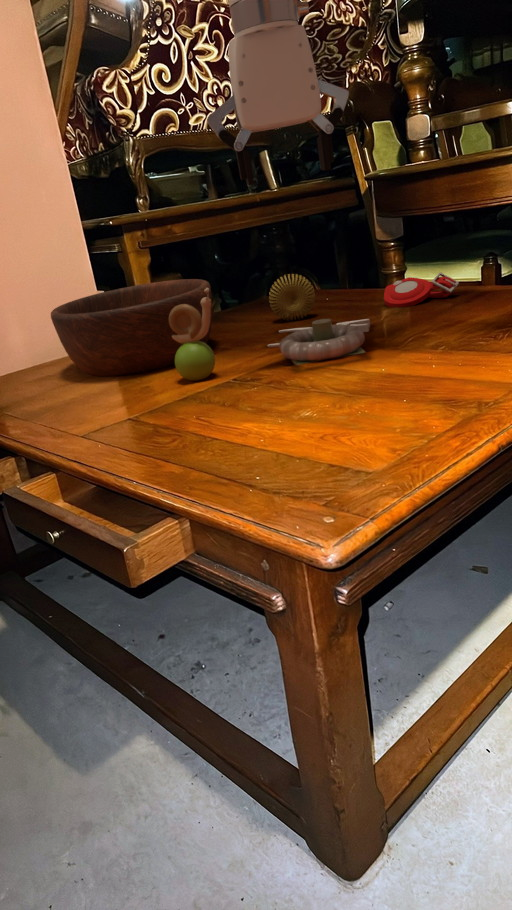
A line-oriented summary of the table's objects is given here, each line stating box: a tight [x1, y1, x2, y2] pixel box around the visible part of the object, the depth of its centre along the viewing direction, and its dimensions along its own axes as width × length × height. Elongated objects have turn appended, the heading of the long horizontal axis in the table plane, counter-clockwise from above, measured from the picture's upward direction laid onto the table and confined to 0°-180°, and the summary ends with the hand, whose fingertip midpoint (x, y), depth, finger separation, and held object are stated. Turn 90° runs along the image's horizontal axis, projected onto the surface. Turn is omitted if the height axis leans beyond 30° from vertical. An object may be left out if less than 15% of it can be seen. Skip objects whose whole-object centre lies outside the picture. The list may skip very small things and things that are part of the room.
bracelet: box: [278, 324, 366, 362], centre depth 93 cm, size 11×11×2 cm
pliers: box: [267, 318, 371, 348], centre depth 106 cm, size 10×2×15 cm
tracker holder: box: [383, 271, 460, 308], centre depth 119 cm, size 12×4×10 cm
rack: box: [291, 318, 366, 366], centre depth 93 cm, size 9×9×5 cm
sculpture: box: [268, 273, 316, 322], centre depth 119 cm, size 8×4×8 cm, turn 90°
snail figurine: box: [169, 288, 216, 382], centre depth 92 cm, size 5×6×12 cm
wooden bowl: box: [50, 278, 213, 377], centre depth 110 cm, size 25×25×10 cm
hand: (288, 177), depth 86 cm, fingers open, 9 cm apart
